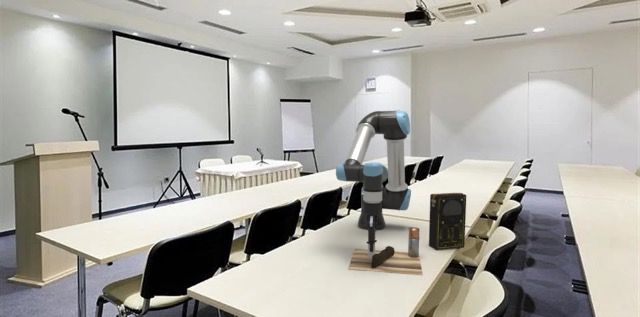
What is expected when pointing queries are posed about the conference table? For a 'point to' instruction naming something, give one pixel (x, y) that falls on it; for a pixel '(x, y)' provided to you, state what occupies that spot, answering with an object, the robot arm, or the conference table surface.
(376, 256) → the hand tool
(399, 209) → the robot arm
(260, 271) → the conference table surface
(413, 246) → the copper and grey cylinder
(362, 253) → the plywood sheet
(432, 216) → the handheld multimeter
